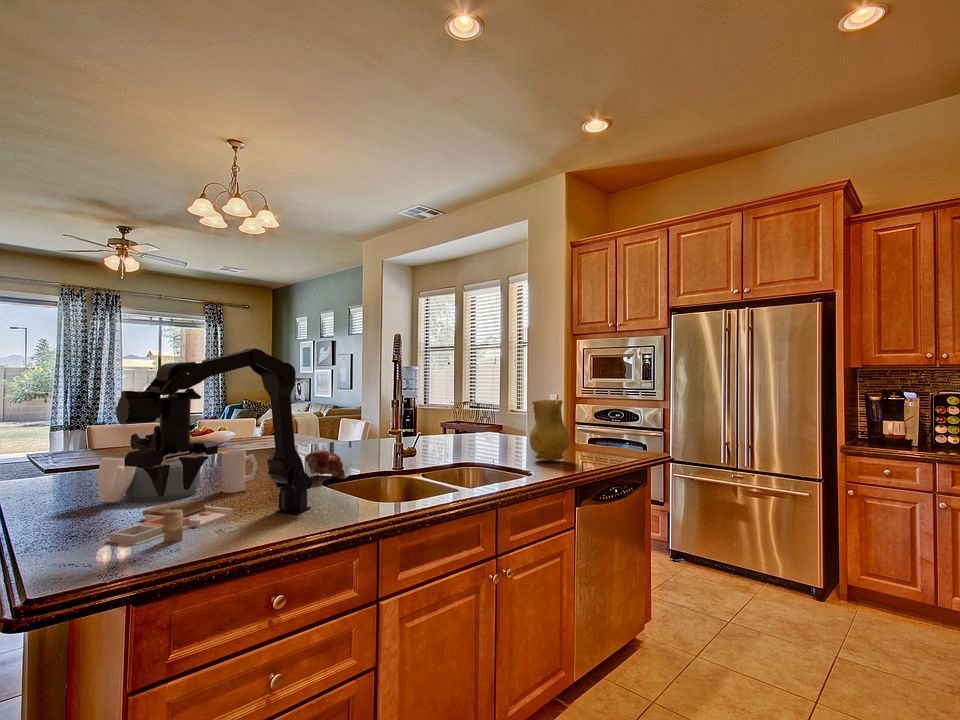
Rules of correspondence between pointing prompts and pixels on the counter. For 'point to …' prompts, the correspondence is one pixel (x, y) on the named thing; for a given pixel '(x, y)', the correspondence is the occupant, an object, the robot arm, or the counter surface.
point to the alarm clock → (174, 488)
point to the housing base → (202, 515)
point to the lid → (177, 507)
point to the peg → (173, 526)
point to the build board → (143, 532)
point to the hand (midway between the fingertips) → (173, 492)
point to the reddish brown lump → (325, 464)
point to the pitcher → (549, 430)
